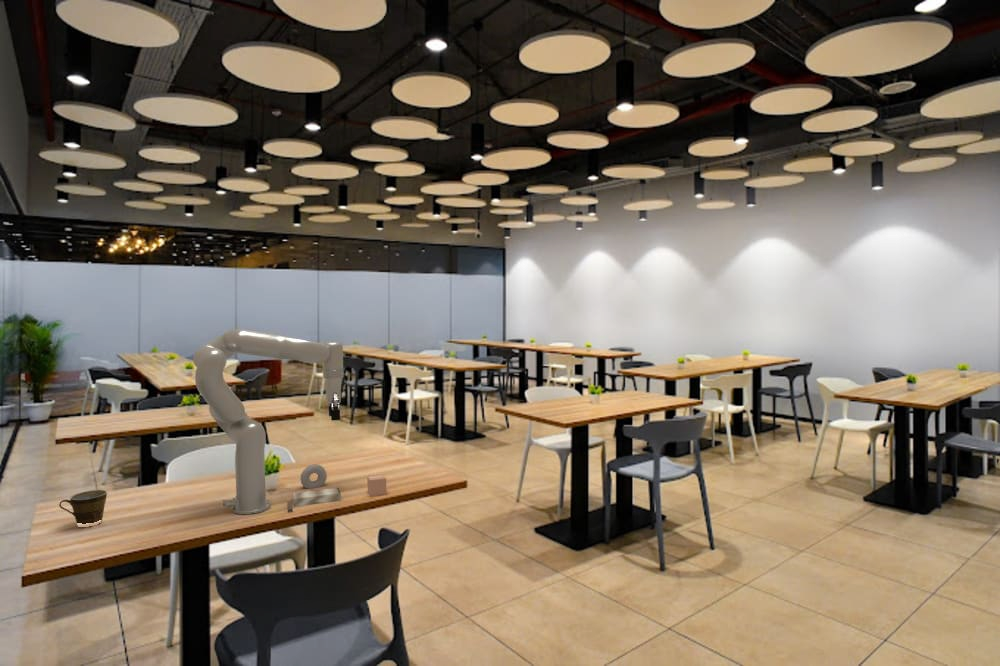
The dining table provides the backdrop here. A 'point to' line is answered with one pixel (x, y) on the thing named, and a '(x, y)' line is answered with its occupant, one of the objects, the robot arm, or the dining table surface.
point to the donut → (310, 470)
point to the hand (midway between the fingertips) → (334, 417)
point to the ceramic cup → (87, 506)
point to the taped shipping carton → (376, 485)
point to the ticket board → (314, 497)
